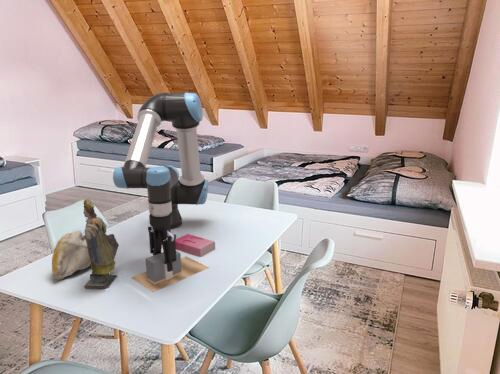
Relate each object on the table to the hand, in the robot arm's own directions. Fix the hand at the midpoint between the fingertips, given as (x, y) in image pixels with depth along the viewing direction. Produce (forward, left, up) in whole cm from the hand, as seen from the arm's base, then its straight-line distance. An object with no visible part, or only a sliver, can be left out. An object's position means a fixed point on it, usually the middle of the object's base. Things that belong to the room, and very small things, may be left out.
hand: (164, 276), depth 138 cm
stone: (+16, -30, -2) cm, 34 cm away
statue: (+15, -16, -2) cm, 22 cm away
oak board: (-4, -1, -1) cm, 4 cm away
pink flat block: (-22, -14, -2) cm, 26 cm away
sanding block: (0, 0, 0) cm, 0 cm away
